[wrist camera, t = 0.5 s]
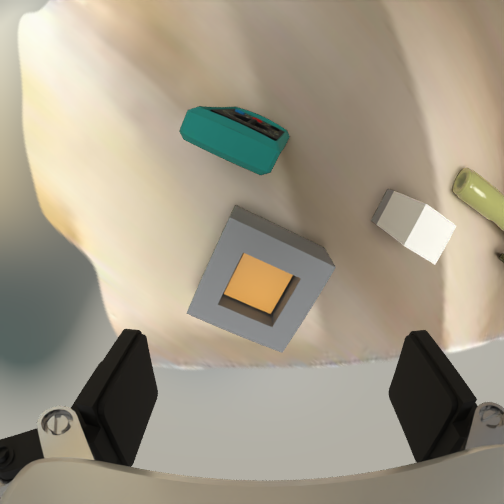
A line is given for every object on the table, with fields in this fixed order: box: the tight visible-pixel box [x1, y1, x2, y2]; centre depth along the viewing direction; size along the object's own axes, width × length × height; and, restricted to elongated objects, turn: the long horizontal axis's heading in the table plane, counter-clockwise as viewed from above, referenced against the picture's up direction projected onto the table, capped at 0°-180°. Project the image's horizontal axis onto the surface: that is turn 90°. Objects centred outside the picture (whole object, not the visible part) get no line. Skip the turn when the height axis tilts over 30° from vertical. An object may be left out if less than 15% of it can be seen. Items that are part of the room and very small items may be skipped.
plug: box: [371, 189, 456, 264], centre depth 32 cm, size 5×5×10 cm
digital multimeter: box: [179, 106, 290, 175], centre depth 27 cm, size 7×15×3 cm
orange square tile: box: [224, 253, 293, 314], centre depth 36 cm, size 6×6×1 cm
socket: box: [187, 205, 336, 352], centre depth 36 cm, size 12×12×6 cm
